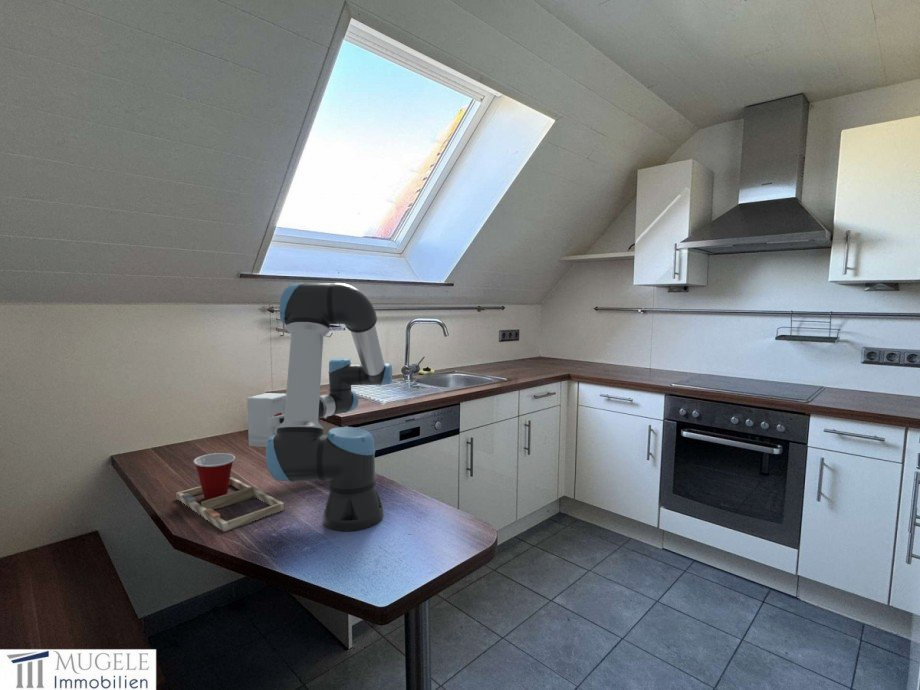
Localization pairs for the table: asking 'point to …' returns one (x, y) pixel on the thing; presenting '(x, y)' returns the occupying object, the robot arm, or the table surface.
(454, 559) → the table surface
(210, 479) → the plastic cup
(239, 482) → the wooden frame
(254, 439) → the supplement box
